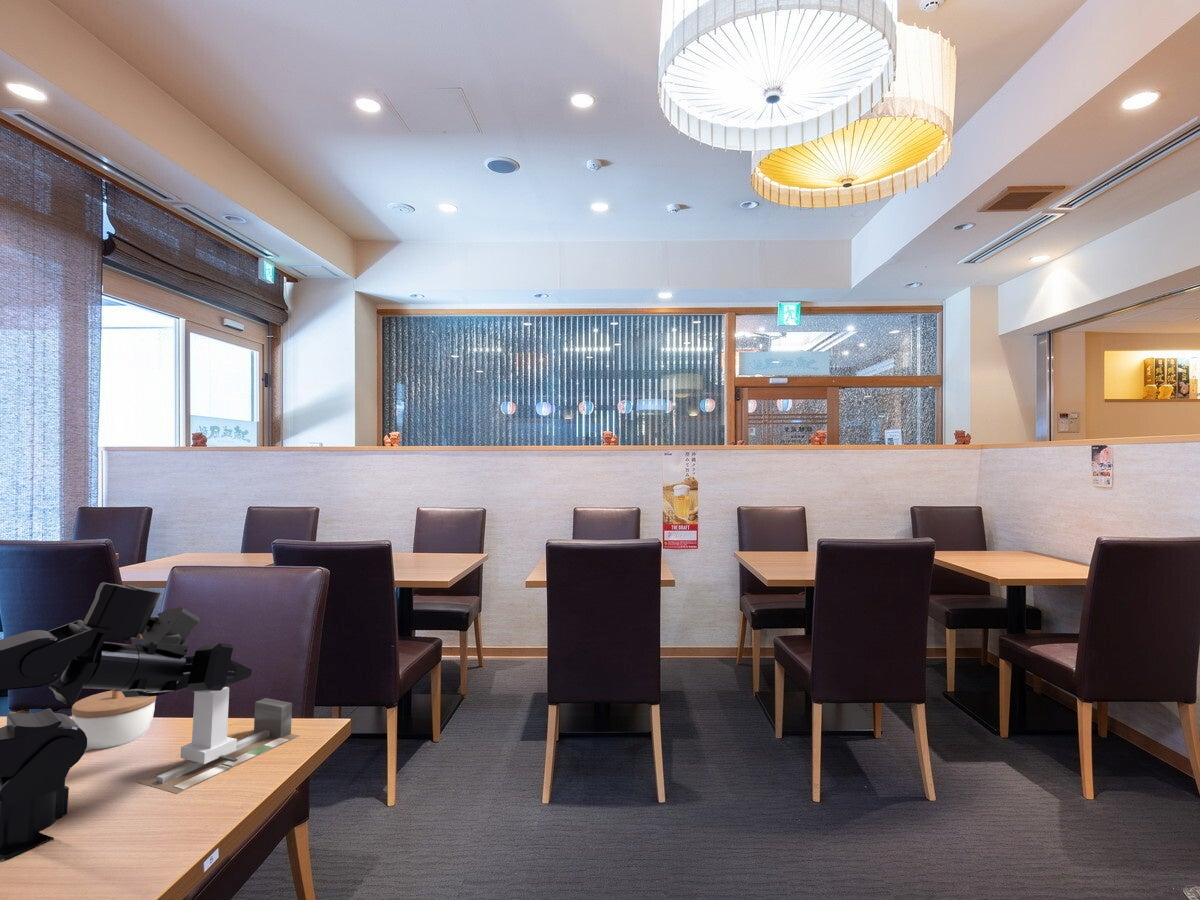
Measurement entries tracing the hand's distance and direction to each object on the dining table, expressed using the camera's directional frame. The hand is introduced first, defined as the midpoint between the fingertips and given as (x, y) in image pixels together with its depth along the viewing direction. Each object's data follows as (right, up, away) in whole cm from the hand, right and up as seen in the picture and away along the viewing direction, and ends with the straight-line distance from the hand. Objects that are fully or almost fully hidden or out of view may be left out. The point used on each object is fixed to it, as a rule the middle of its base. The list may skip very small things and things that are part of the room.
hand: (229, 675), depth 93 cm
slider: (+1, -10, -5) cm, 11 cm away
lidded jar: (-21, -13, +4) cm, 25 cm away
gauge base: (+1, -13, -3) cm, 13 cm away
